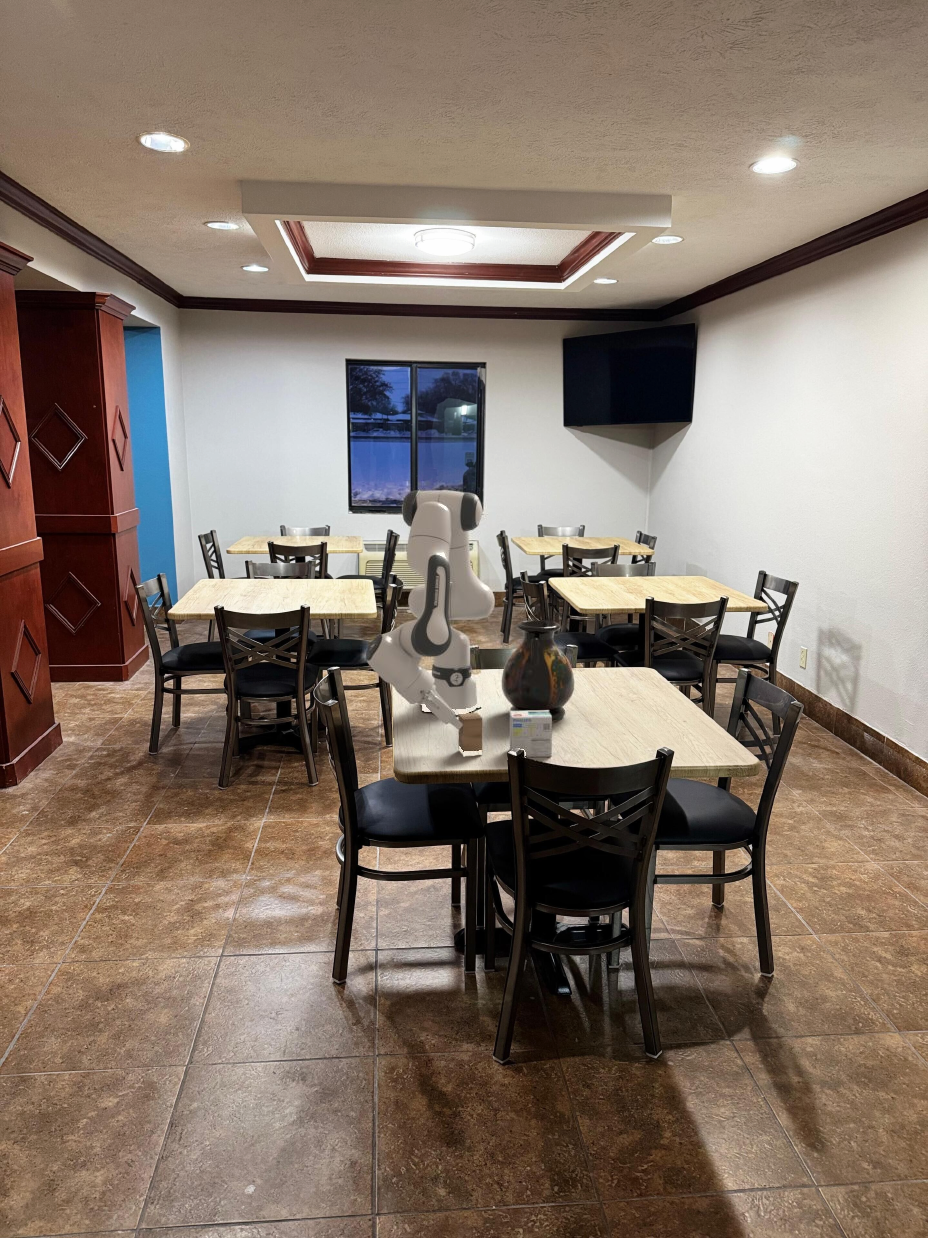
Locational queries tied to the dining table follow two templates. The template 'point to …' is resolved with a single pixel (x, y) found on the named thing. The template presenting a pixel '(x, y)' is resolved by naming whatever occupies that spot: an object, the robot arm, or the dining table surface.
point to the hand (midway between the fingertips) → (455, 721)
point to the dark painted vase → (538, 671)
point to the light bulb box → (531, 732)
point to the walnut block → (470, 732)
